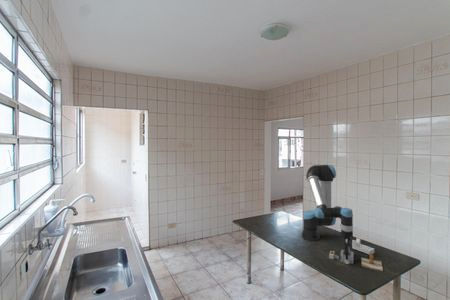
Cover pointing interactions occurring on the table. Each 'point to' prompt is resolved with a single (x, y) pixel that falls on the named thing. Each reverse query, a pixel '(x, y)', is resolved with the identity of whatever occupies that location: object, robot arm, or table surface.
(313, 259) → the table surface
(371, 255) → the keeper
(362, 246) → the bracket
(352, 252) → the link
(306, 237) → the robot arm
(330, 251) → the beige box with knob
